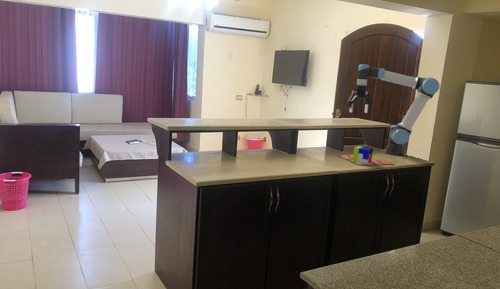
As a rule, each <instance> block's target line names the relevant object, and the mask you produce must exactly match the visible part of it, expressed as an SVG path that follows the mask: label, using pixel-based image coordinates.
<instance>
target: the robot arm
mask: <svg viewBox="0 0 500 289" xmlns="http://www.w3.org/2000/svg"><path fill="white" fill-rule="evenodd" d="M368 78H369V79H371V78H372V79H377V80H381V81H384V82H385V81H386V82H390V83H393V84H398V85H401V86H406V87H409V88H412V89H413V90H416V93H417V94H416V96H415V98H414V100H413V102H412V103H411V105H410V107H409V108H408V110H407V112H406V113H405V115H404V117H403V118H402V121H401V122H400V123H399V122H398V123H397V124H391V125H390V128H389V133H388V134H389V136H388V143H387V145H386V147H385V149H384V153H385V154H388V155H393V156H405V152H406V150H405V146H404V144H406V143H407V142H409V140H410V136H411V134H412V132H413V129H412V128H413V127H414V125H415V123H416V121H417V120H418V118H419V117H420V115H421V113H422V111H423V110H424V108H425V106H426V105H427V103H428V101H429V100H433V97H434V96H435V94H436V93H438V92H439V89H440V87H441V86H440V85H441V84H440V82H439V81H438V79H437V78H434V77H420V76H416V77H414V76H408V75H405V74H401V73H398V72H392V71H389V70H385V68H381V67H370V65H369V64H359V65H358V70H357V79H356V87H355V90H352V92H351V94H350V96H349V97H348V100H347V101H346V102H347V103H348V104H349V106H348V108H349V113H353V108H354V107H353V106H354V104H353V103H354V102H355V101H356V99H358V98H363V100H364V102H365V105H364V113H365V114H368V110H369V107H370V105H371V104H372V100H371V96H370V91H366V90H367V85H368Z"/></svg>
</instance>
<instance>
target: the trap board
mask: <svg viewBox="0 0 500 289" xmlns="http://www.w3.org/2000/svg"><path fill="white" fill-rule="evenodd" d="M336 156H337V157H338V158H341V159H343V160H346V161H348V162H350V163H352V164H354V163H355V164H354V165H358V166H395V164H394V163H392V162H390V161H386V160H384V159H371V163H369V164H361V163H356V162H352V161H353V154H350V155H349V154H348V155H343V154H342V155H340V154H338V155H336Z"/></svg>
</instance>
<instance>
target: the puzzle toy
mask: <svg viewBox="0 0 500 289" xmlns="http://www.w3.org/2000/svg"><path fill="white" fill-rule="evenodd" d="M373 151H374V148H373V147H369V146H368V147H367V146H362V145H361V146H360V145H358V146H355V147H354V148H353V153H352V155H353V161H352V162H356V163H361V164H369V163H371V160H373V158H372V157H373ZM352 162H351V163H352Z"/></svg>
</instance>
